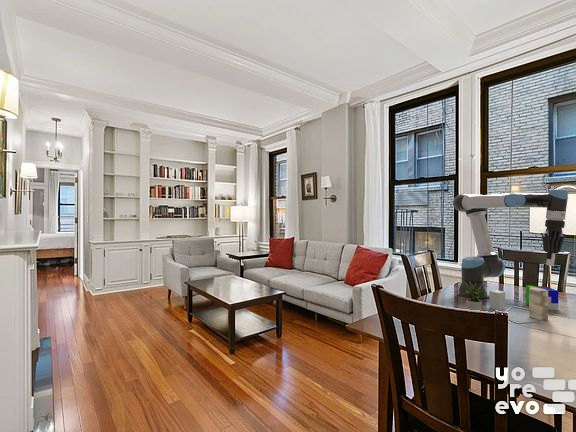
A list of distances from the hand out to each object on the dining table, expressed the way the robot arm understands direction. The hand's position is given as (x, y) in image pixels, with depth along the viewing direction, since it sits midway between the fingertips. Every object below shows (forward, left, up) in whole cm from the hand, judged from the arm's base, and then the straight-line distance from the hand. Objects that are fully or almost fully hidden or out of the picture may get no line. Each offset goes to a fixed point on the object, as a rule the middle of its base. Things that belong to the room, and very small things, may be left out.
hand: (550, 265), depth 156 cm
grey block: (-15, -19, -24) cm, 34 cm away
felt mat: (+1, -27, -24) cm, 36 cm away
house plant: (-17, -37, -24) cm, 47 cm away
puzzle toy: (-7, +6, -24) cm, 26 cm away
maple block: (+3, -17, -24) cm, 29 cm away
